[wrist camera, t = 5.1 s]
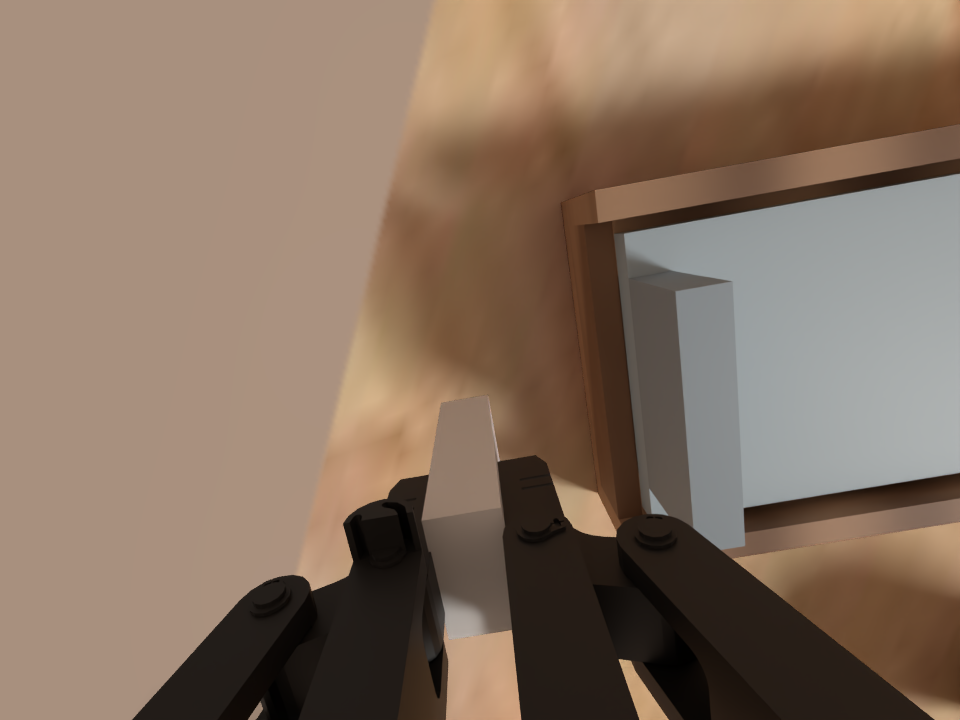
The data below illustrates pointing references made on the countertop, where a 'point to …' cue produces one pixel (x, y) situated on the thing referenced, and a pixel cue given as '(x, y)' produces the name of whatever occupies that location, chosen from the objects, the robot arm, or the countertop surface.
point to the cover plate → (793, 350)
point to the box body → (713, 195)
